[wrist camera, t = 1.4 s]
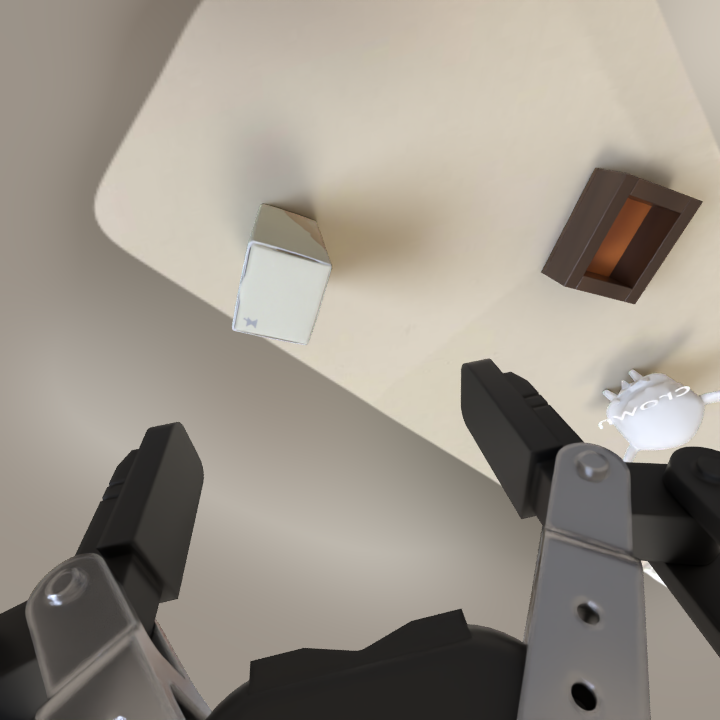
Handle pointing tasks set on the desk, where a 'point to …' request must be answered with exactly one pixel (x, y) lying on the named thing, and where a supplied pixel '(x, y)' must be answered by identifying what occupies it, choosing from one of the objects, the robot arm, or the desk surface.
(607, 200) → the box
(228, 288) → the desk surface
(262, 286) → the box
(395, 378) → the desk surface
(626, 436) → the figurine
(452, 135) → the desk surface
